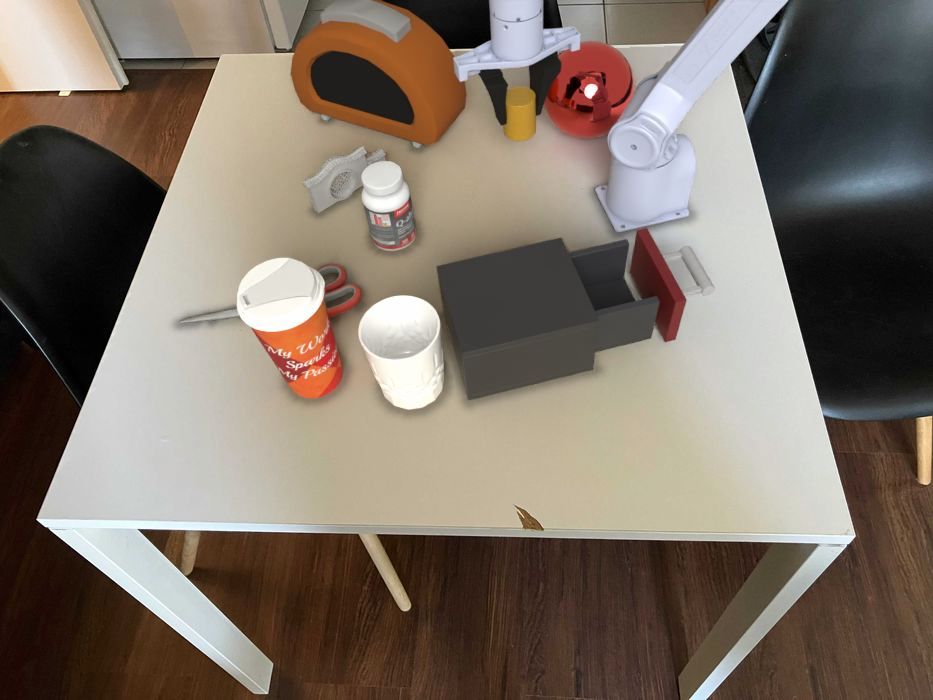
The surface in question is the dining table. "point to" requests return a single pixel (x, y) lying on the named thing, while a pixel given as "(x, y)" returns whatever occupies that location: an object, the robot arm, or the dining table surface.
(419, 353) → the white cup
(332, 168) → the lattice window wall
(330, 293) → the scissors
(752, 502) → the dining table surface
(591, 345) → the dark drawer box
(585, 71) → the ball
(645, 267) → the drawer
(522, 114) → the yellow cylinder
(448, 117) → the alarm clock
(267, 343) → the coffee cup
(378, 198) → the pill bottle
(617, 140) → the robot arm
